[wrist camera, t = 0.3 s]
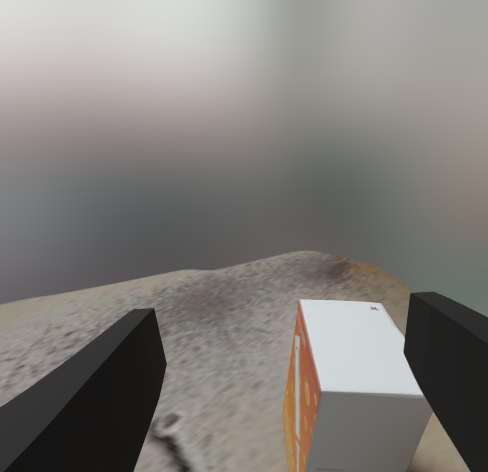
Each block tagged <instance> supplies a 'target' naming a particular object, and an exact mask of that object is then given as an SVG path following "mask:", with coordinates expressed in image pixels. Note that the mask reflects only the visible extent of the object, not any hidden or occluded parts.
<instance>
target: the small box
mask: <svg viewBox="0 0 488 472" xmlns="http://www.w3.org/2000/svg"><path fill="white" fill-rule="evenodd" d="M404 342H405V338H404V336H403V335H402V334H401V332H400V331H399V330H398V329H397V327H396V326H395V324H394V322H393V321H392V319H391V318H390V316H389V315H388V313H387V312H386V310H385V309H384V307H383V305H382V304H381V303H371V302H355V301H331V300H299V304H298V312H297V319H296V326H295V333H294V340H293V346H292V353H291V359H290V366H289V374H288V381H287V387H286V393H285V399H284V406H283V413H282V416H283V422H284V429H285V437H286V446H287V455H288V463H289V472H406V471H407V469H408V467H409V465H410V462H411V460H412V458H413V456H414V453H415V451H416V449H417V446H418V444H419V442H420V439H421V437H422V435H423V433H424V430H425V428H426V426H427V424H428V421H429V419H430V417H431V415H432V412H433V410H432V408H431V406H430V405H429V403H428V402H427V400H426V398H425V397H424V395H423V393H422V391H421V390H420V388H419V386H418V384H417V382H416V380H415V378H414V376H413V373H412V371H411V369H410V367H409V365H408V362H407V360H406V358H405V355H404V353H403V350H404Z"/></svg>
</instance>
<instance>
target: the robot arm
mask: <svg viewBox="0 0 488 472" xmlns="http://www.w3.org/2000/svg"><path fill="white" fill-rule="evenodd" d="M403 353H404V355H405V358H406V360H407V362H408V365H409V367H410V369H411V371H412V373H413V376H414V378H415V380H416V382H417V384H418V386H419V388H420V390H421V391H422V393H423V395H424V397H425V398H426V400H427V402H428V403H429V405H430V406H431V408H432V410H433V411H434V413H435V415H436V416H437V418H438V420H439V421H440V423H441V424H442V426H443V428H444V429H445V431H446V432H447V434H448V436H449V437H450V439H451V441H452V442H453V444H454V445H455V447H456V449H457V450H458V452H459V454H460V455H461V457H462V458H463V460H464V462H465V463H466V465H467V466H468V468H469V470H470V471H471V472H488V317H486V316H484V315H482V314H480V313H478V312H476V311H474V310H472V309H470V308H468V307H466V306H464V305H462V304H460V303H458V302H455V301H453V300H452V299H449V298H447V297H445V296H442V295H440V294H438V293H435V292H422V293H421V292H420V293H410V301H409V309H408V318H407V326H406V334H405V342H404V350H403ZM166 365H167V363H166V359H165V354H164V350H163V345H162V341H161V337H160V332H159V328H158V323H157V319H156V314H155V310H154V308H148V309H133V310H132V311H130V312H129V313H128V314H126V315H125V316H123V317H122V318H121V319H119V320H118V321H117V322H116V323H114V324H113V325H112V326H111V327H109V328H108V329H107V330H105V331H104V332H103V333H102V334H100V335H99V336H98V337H97V338H95V339H94V340H93V341H91V342H90V343H89V344H88V345H86V346H85V347H84V348H83V349H81V350H80V351H79V352H77V353H76V354H75V355H74V356H72V357H71V358H70V359H68V360H67V361H66V362H64V363H63V364H61V365H60V366H59V367H57V368H56V369H55V370H53V371H52V372H50V373H49V374H48V375H46V376H45V377H44V378H42V379H41V380H39V381H38V382H37V383H35V384H34V385H33V386H31V387H30V388H28V389H27V390H25V391H24V392H23V393H21V394H20V395H18V396H17V397H15V398H14V399H12V400H11V401H9V402H8V403H6V404H5V405H3V406H1V407H0V472H133V471H134V469H135V466H136V463H137V460H138V457H139V455H140V452H141V449H142V446H143V443H144V440H145V438H146V435H147V432H148V429H149V426H150V424H151V421H152V418H153V415H154V412H155V409H156V406H157V403H158V400H159V397H160V392H161V388H162V384H163V379H164V374H165V370H166Z"/></svg>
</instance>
